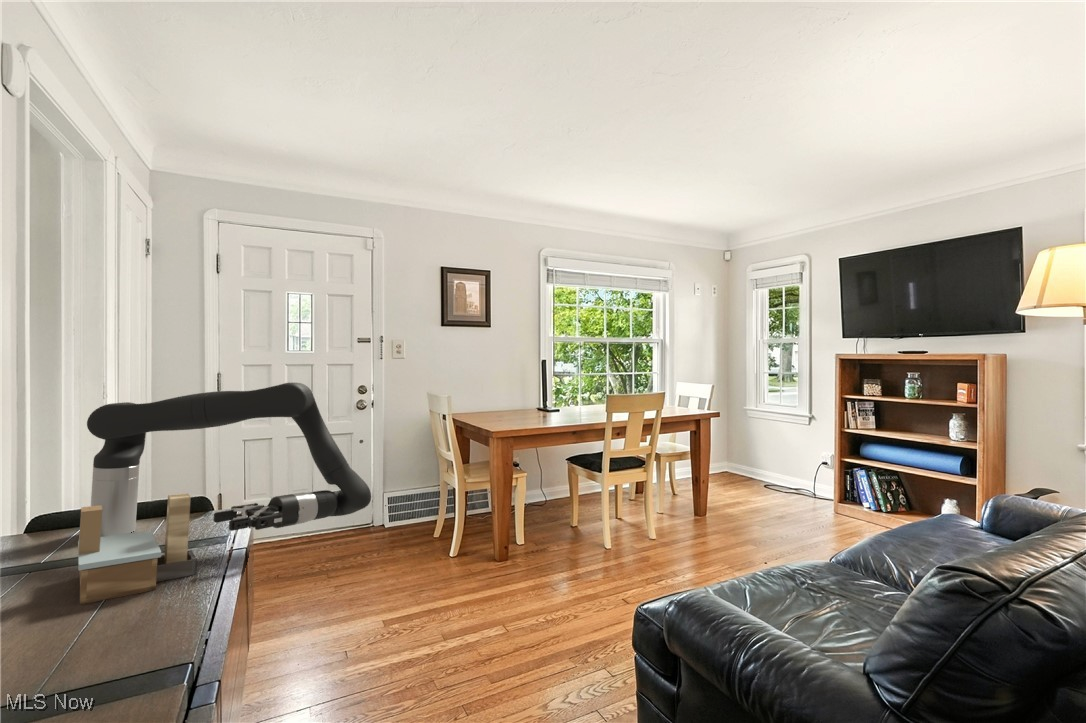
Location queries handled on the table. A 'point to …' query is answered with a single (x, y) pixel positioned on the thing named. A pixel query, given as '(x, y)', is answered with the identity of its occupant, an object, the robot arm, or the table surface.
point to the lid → (111, 543)
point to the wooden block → (177, 528)
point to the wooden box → (131, 577)
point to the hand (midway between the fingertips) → (221, 521)
